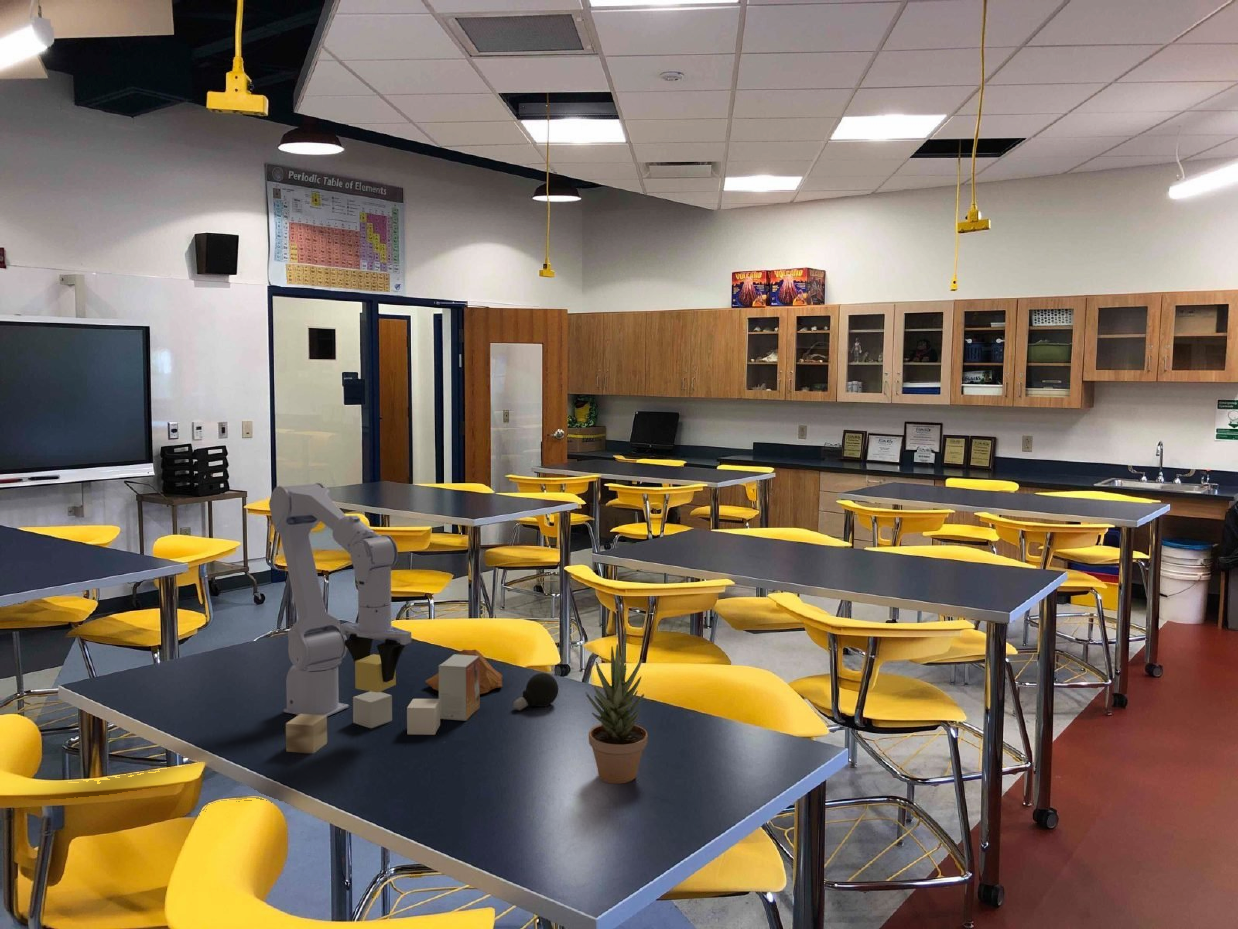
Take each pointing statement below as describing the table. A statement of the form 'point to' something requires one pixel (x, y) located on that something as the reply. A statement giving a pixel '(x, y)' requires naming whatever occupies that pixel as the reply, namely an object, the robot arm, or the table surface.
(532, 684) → the light bulb
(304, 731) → the maple cube
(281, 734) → the table surface
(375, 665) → the mustard cube
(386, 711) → the grey cube
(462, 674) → the small box
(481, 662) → the stone
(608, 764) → the potted plant
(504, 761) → the table surface
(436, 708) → the white cube
